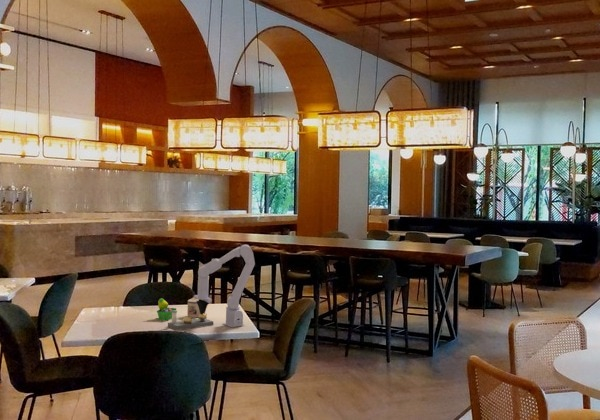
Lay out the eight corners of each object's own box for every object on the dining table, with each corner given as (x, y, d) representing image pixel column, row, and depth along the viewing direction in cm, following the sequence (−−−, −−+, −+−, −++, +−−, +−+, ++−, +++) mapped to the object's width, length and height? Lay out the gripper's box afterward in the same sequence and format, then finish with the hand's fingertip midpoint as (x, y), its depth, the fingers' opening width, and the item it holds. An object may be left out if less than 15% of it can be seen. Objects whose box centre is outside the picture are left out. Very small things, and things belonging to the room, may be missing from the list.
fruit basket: (168, 321, 367) (169, 300, 366) (153, 320, 368) (154, 299, 368) (176, 317, 378) (177, 297, 377) (162, 316, 380) (162, 296, 379)
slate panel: (213, 325, 359) (213, 321, 359) (177, 329, 345) (177, 326, 345) (203, 321, 367) (203, 318, 367) (167, 326, 353) (167, 322, 353)
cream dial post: (177, 323, 351) (178, 310, 351) (173, 324, 350) (173, 311, 349) (175, 322, 354) (175, 310, 353) (170, 323, 352) (170, 310, 352)
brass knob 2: (208, 322, 359) (208, 314, 359) (200, 323, 356) (201, 315, 356) (203, 320, 362) (203, 312, 362) (196, 321, 360) (196, 313, 359)
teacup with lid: (183, 316, 380) (184, 296, 380) (193, 314, 388) (194, 294, 388) (200, 319, 375) (201, 298, 374) (210, 316, 383) (210, 296, 382)
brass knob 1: (193, 326, 353) (193, 318, 353) (186, 327, 350) (186, 319, 350) (189, 325, 357) (189, 316, 357) (181, 326, 354) (182, 317, 354)
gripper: (189, 287, 362) (189, 312, 362) (203, 291, 351) (203, 317, 351) (200, 286, 366) (200, 311, 367) (215, 290, 355) (214, 315, 356)
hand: (202, 314), depth 359 cm, fingers closed, pressing on brass knob 2
